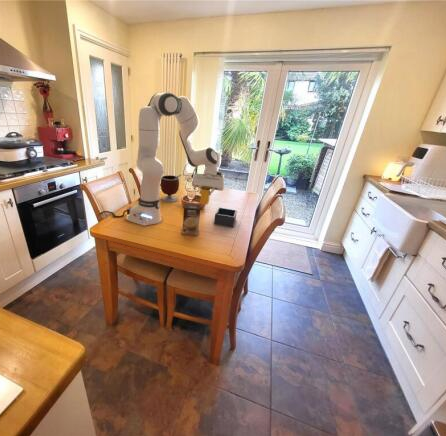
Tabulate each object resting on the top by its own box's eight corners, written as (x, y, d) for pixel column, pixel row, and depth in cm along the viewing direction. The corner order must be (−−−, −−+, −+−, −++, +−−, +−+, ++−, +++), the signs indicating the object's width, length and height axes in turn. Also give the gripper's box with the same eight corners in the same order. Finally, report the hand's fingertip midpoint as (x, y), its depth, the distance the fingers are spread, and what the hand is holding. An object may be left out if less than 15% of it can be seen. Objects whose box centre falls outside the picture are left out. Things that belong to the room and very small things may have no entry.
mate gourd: (157, 200, 176) (157, 174, 167) (164, 195, 188) (164, 170, 179) (177, 203, 172) (178, 177, 164) (182, 197, 184) (183, 172, 176)
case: (213, 224, 144) (215, 213, 141) (217, 216, 154) (218, 207, 151) (232, 227, 140) (234, 217, 137) (235, 219, 150) (237, 210, 147)
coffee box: (181, 234, 130) (183, 207, 123) (182, 229, 136) (184, 203, 129) (198, 235, 129) (200, 209, 123) (198, 230, 135) (200, 204, 128)
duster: (200, 203, 145) (201, 187, 141) (201, 201, 149) (203, 185, 145) (207, 204, 144) (208, 189, 140) (209, 202, 148) (210, 186, 143)
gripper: (193, 170, 148) (188, 189, 143) (226, 174, 142) (221, 194, 138) (195, 175, 153) (189, 194, 149) (226, 179, 148) (221, 198, 143)
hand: (205, 194), depth 143 cm, fingers closed on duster, 4 cm apart
